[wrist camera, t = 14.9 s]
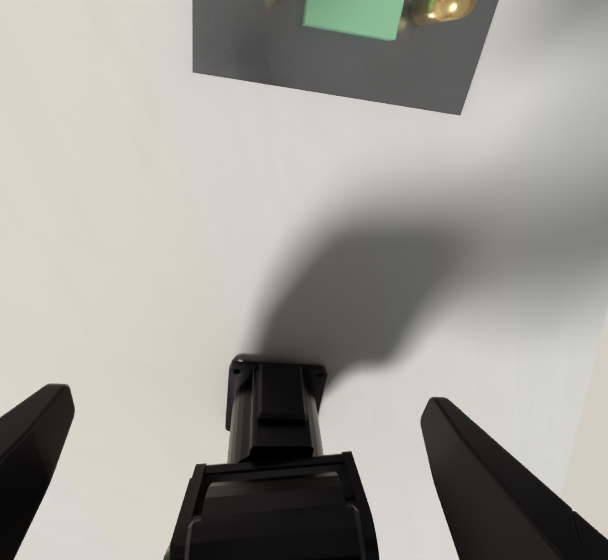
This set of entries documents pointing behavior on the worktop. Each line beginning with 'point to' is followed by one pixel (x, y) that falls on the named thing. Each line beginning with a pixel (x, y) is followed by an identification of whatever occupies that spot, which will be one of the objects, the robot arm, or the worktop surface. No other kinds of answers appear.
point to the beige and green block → (355, 17)
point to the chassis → (346, 51)
